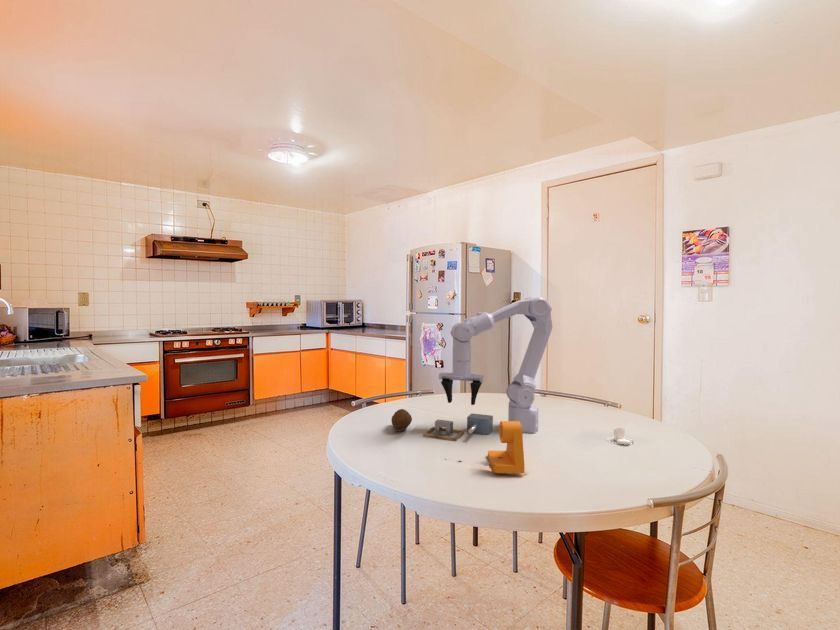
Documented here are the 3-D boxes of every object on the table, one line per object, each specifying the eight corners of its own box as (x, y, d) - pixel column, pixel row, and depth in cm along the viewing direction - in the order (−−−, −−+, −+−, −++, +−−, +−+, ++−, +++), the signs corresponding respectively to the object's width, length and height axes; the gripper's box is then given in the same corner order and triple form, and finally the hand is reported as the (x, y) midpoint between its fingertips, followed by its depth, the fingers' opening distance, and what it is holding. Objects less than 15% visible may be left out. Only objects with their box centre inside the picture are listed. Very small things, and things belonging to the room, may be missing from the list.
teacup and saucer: (631, 448, 128) (631, 435, 128) (602, 443, 133) (602, 430, 132) (635, 441, 136) (635, 427, 136) (607, 436, 140) (608, 423, 140)
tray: (464, 437, 136) (464, 430, 136) (455, 445, 128) (455, 438, 128) (433, 433, 140) (433, 426, 140) (423, 440, 132) (423, 433, 132)
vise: (493, 433, 140) (493, 415, 140) (481, 447, 126) (481, 427, 126) (472, 430, 143) (472, 412, 143) (458, 444, 129) (458, 424, 129)
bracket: (487, 460, 117) (487, 415, 116) (514, 460, 117) (514, 416, 116) (494, 476, 106) (495, 427, 105) (524, 476, 106) (525, 427, 106)
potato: (411, 424, 149) (411, 404, 149) (412, 435, 138) (412, 413, 138) (391, 424, 149) (391, 404, 149) (391, 435, 138) (391, 413, 137)
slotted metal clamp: (452, 437, 134) (453, 421, 134) (450, 439, 132) (450, 423, 132) (437, 435, 136) (437, 419, 136) (434, 437, 134) (435, 421, 134)
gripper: (435, 360, 137) (435, 403, 138) (480, 363, 132) (480, 408, 132) (443, 358, 144) (443, 399, 144) (486, 360, 138) (486, 403, 139)
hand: (461, 403), depth 139 cm, fingers open, 7 cm apart
